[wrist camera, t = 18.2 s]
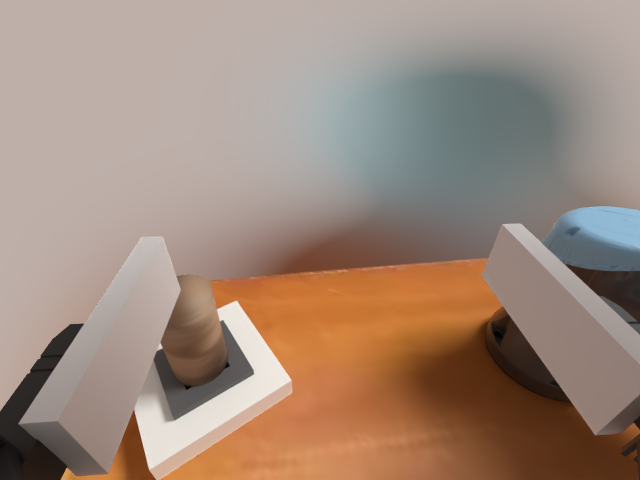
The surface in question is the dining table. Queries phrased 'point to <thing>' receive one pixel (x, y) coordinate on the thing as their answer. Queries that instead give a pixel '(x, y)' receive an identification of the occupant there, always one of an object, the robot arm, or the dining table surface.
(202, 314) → the peg
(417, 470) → the dining table surface
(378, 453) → the dining table surface
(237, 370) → the frame
